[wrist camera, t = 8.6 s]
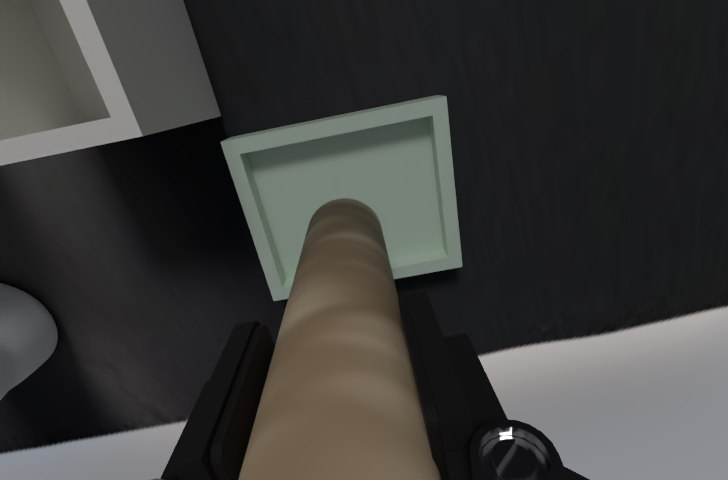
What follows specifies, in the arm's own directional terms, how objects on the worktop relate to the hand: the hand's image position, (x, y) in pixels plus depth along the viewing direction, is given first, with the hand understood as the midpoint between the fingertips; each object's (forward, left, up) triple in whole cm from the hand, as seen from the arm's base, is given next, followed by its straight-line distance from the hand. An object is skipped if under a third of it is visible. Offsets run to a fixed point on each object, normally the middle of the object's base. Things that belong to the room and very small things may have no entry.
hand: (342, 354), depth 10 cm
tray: (0, 0, -14) cm, 14 cm away
